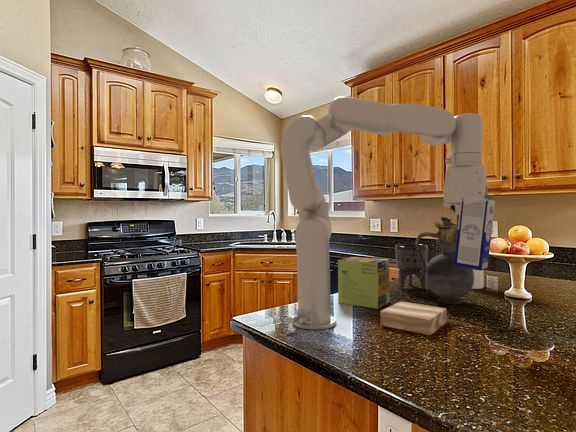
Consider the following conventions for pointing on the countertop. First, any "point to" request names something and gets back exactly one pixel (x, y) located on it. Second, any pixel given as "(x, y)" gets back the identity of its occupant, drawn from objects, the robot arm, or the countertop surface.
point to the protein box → (363, 282)
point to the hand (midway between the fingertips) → (464, 229)
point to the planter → (411, 263)
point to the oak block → (414, 317)
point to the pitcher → (446, 266)
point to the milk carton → (474, 231)
